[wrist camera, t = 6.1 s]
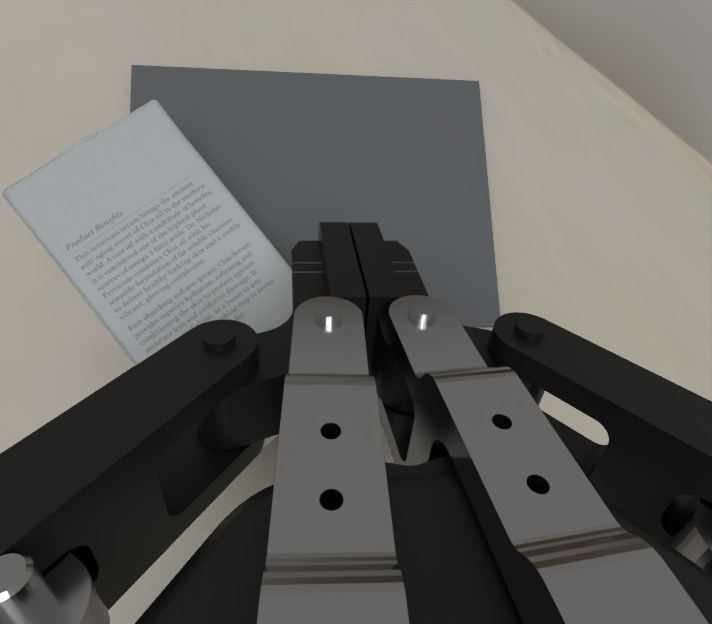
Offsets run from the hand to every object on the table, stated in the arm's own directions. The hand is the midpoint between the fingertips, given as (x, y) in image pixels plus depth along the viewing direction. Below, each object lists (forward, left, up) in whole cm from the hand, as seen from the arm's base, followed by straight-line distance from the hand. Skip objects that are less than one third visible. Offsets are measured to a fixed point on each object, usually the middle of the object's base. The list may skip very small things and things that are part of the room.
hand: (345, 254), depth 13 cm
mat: (-3, +4, -8) cm, 10 cm away
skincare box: (+2, -4, -6) cm, 8 cm away
